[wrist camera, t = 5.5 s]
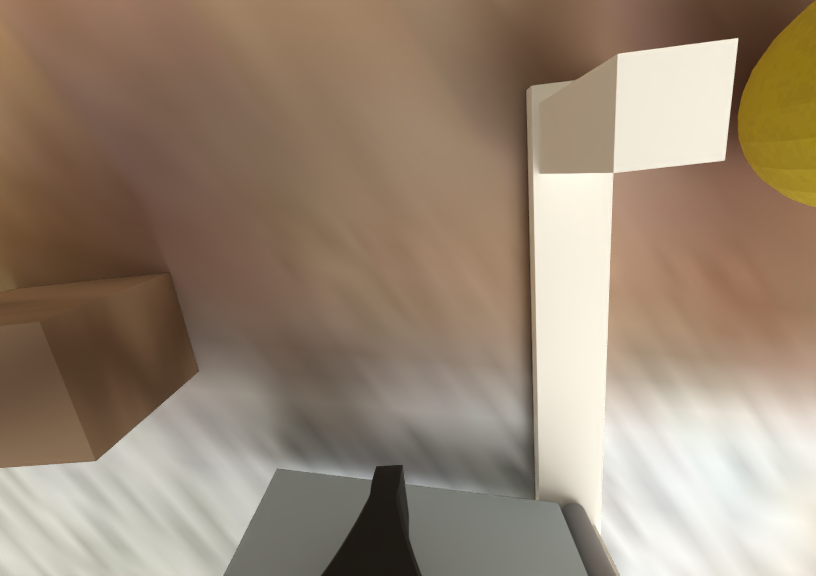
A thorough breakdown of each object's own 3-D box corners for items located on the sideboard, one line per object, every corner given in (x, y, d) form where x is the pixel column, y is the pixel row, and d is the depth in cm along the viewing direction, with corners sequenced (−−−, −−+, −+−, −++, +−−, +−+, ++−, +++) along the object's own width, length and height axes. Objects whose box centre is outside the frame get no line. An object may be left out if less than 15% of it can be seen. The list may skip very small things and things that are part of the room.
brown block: (199, 370, 15) (95, 461, 10) (57, 382, 16) (-107, 475, 11) (171, 271, 14) (39, 321, 9) (18, 288, 14) (-184, 344, 10)
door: (588, 504, 15) (669, 668, 10) (576, 542, 16) (648, 714, 11) (278, 466, 15) (206, 610, 10) (277, 505, 16) (208, 659, 11)
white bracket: (593, 549, 17) (669, 718, 11) (536, 552, 17) (587, 719, 12) (607, 79, 12) (755, 2, 6) (526, 90, 12) (606, 22, 7)
